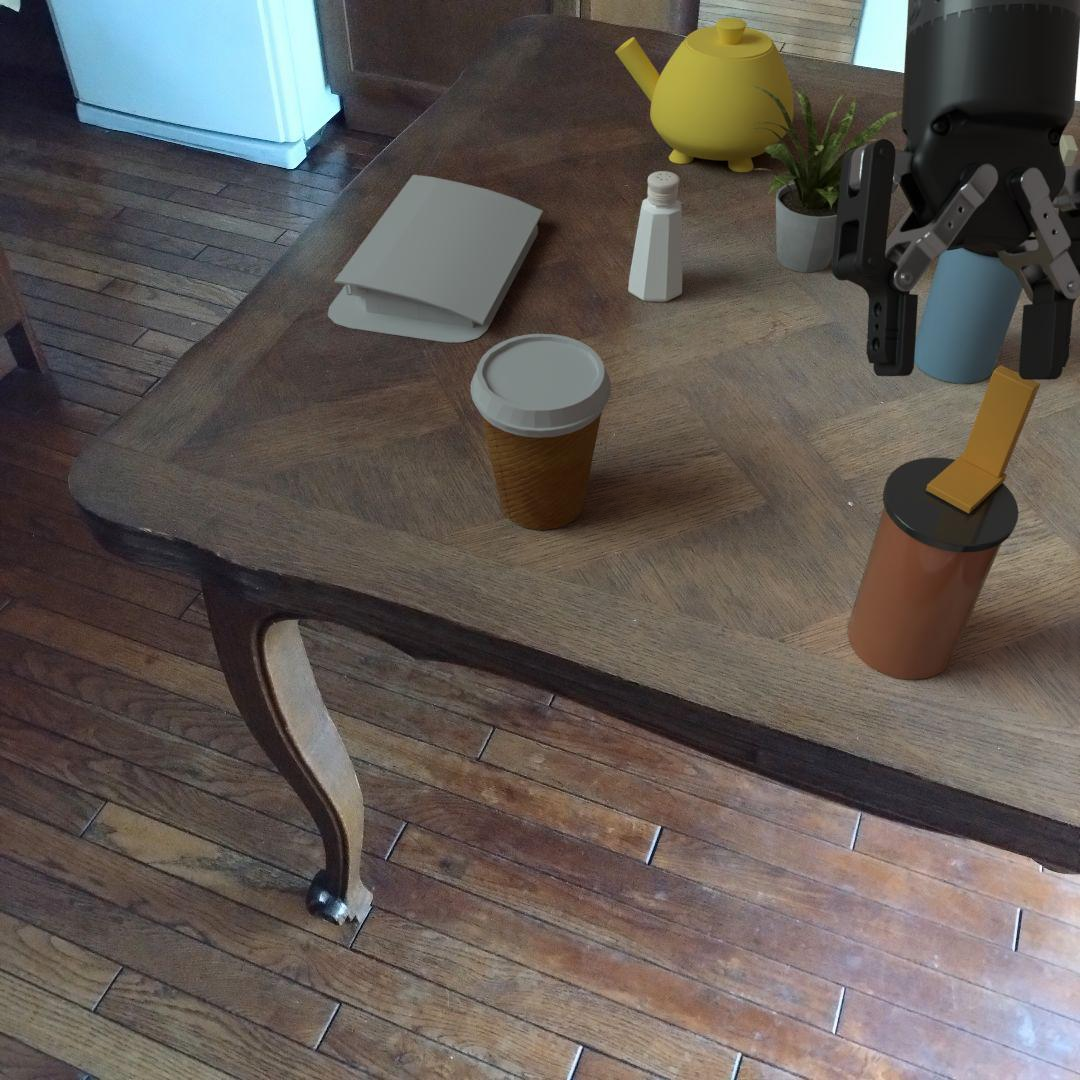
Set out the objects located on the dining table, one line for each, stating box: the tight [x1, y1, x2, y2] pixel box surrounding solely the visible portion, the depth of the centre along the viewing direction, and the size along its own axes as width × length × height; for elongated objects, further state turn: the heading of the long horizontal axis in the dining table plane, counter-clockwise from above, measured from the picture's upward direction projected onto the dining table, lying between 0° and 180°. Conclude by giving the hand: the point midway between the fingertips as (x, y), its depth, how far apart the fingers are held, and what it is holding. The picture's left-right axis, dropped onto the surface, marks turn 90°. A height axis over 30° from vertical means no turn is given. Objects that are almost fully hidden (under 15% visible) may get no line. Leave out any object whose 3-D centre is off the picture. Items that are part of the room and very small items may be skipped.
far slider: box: [1029, 134, 1079, 237], centre depth 80 cm, size 4×3×7 cm
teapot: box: [614, 17, 795, 173], centre depth 115 cm, size 20×16×14 cm
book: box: [327, 174, 544, 344], centre depth 101 cm, size 15×23×4 cm, turn 165°
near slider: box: [926, 364, 1041, 514], centre depth 59 cm, size 4×3×7 cm
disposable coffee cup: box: [470, 333, 612, 531], centre depth 75 cm, size 10×10×12 cm
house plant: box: [751, 85, 902, 273], centre depth 97 cm, size 14×14×16 cm
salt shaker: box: [627, 170, 683, 303], centre depth 96 cm, size 5×5×11 cm
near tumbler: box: [847, 456, 1019, 681], centre depth 65 cm, size 7×7×13 cm
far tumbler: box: [914, 237, 1036, 385], centre depth 87 cm, size 7×7×13 cm
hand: (968, 377), depth 52 cm, fingers open, 8 cm apart
